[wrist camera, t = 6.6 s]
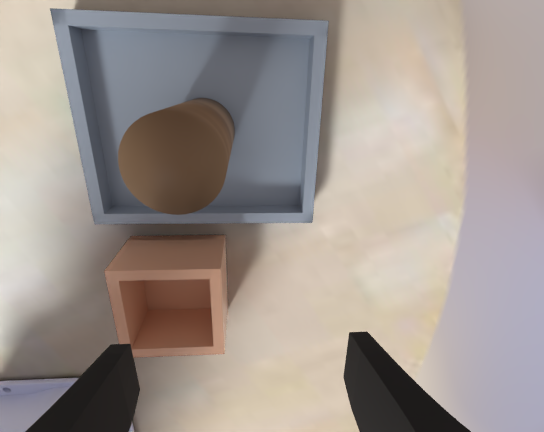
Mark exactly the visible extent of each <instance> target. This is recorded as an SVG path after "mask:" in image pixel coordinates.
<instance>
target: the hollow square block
mask: <svg viewBox="0 0 544 432" xmlns="http://www.w3.org/2000/svg"><path fill="white" fill-rule="evenodd" d="M104 273H105V278H106V282H107V287H108V292H109V297H110V302H111V307H112V311H113V316H114V321H115V326H116V331H117V336H118V341H119V344H131V349H132V354H133V358H135V357H160V356H185V355H210V354H224V352H225V340H226V327H227V315H228V297H227V268H226V238H225V235H171V236H130V238H129V239H128V240H127V242H126V243H125V244H124V245H123V247H122V248H121V249H120V251H119V252H118V253H117V255H116V256H115V257H114V259H113V260H112V261H111V263H110V264H109V265H108V267H107V268H106V269H105V271H104Z"/></svg>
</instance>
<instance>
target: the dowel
mask: <svg viewBox="0 0 544 432" xmlns="http://www.w3.org/2000/svg"><path fill="white" fill-rule="evenodd" d="M234 135H235V126H234V122H233V119H232V117H231V115H230V113H229V112H228V110H227V109H226V108H225V107H224V106H223V105H222V104H220V103H219V102H217V101H215V100H212V99H208V98H196V99H193V100H190V101H186V102H183V103H180V104H177V105H174V106H171V107H168V108H165V109H162V110H159V111H156V112H153V113H149V114H147V115H145V116H143V117H141V118H139V119H138V120H136V121H135V122H134V123H133V124H132V125H131V126H130V127H129V128H128V129H127V131H126V132H125V134H124V135H123V137H122V140H121V142H120V145H119V150H118V165H119V170H120V173H121V176H122V179H123V181H124V183H125V185H126V186H127V188H128V189H129V191H130V192H131V193H132V194H133V195H134V196H135V197H136V198H137V199H138V200H139V201H140V202H142V203H143V204H144V205H146V206H148V207H149V208H151V209H154V210H156V211H158V212H162V213H166V214H172V215H183V214H189V213H193V212H196V211H199V210H201V209H203V208H204V207H206V206H208V205H209V204H210V203H211V202H212V201H213V200H214V199H215V198H216V197H217V196H218V194H219V193H220V191H221V189H222V187H223V185H224V182H225V178H226V173H227V169H228V164H229V159H230V154H231V150H232V145H233V140H234Z"/></svg>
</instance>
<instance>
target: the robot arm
mask: <svg viewBox="0 0 544 432" xmlns="http://www.w3.org/2000/svg"><path fill="white" fill-rule="evenodd" d="M344 381H345V385H346V389H347V393H348V397H349V401H350V405H351V408H352V411H353V414H354V417H355V420H356V423H357V425H358V428H359V431H360V432H471V431H470V430H468V429H467V428H466V427H465V426H463V425H462V424H461V423H460V422H458V421H457V420H456V419H455V418H454V417H453V416H451V415H450V414H449V413H448V412H447V411H446V410H444V408H442V407H441V406H440V405H439V404H438V403H437V402H436V401H435V400H434V399H433V398H432V397H431V396H429V395H428V394H427V393H426V392H425V391H424V390H423V389H422V388H421V387H420V386H419V385H418V384H417V383H416V382H415V381H414V380H413V379H412V378H411V377H410V376H409V375H408V374H407V373H406V372H405V371H404V370H403V369H402V368H401V367H400V366H399V365H398V364H397V363H396V362H395V361H394V360H393V359H392V358H391V357H390V355H389V354H388V353H387V352H386V351H385V350H384V349H383V348H382V347H381V346H380V345H379V344H378V343H377V342H376V341H375V339H374V338H373V337H372V336H371V335H370V334H369V333H368V332H350V333H349V339H348V347H347V355H346V363H345V370H344ZM139 391H140V387H139V383H138V378H137V373H136V368H135V363H134V358H133V354H132V349H131V344H114V345H110V346H109V347H108V348H107V349H106V350H105V351H104V352H103V353H102V354H101V355H100V356H99V357H98V358H97V360H96V361H95V362H94V363H93V364H92V365H91V366H90V367H89V368H88V369H87V370H86V371H85V372H84V373H83V374H82V375H81V376H80V378H60V379H37V380H14V381H0V432H134V427H133V422H132V420H133V416H134V412H135V409H136V404H137V400H138V396H139Z"/></svg>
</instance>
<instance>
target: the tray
mask: <svg viewBox="0 0 544 432" xmlns="http://www.w3.org/2000/svg"><path fill="white" fill-rule="evenodd" d="M50 11H51V15H52V20H53V25H54V30H55V35H56V40H57V45H58V49H59V54H60V59H61V64H62V69H63V74H64V79H65V83H66V88H67V93H68V98H69V103H70V108H71V112H72V117H73V122H74V127H75V132H76V137H77V142H78V146H79V151H80V156H81V161H82V166H83V171H84V176H85V180H86V185H87V190H88V195H89V200H90V205H91V210H92V214H93V219H94V224H199V223H312V220H313V208H314V195H315V183H316V171H317V158H318V146H319V133H320V121H321V109H322V96H323V84H324V71H325V59H326V47H327V34H328V22H329V21H323V20H300V19H277V18H255V17H232V16H209V15H187V14H164V13H141V12H118V11H96V10H73V9H50ZM196 98H208V99H212V100H215V101H217V102H219V103H220V104H222V105H223V106H224V107H225V108H226V109H227V110H228V112H229V113H230V115H231V117H232V119H233V122H234V126H235V135H234V140H233V145H232V150H231V154H230V159H229V164H228V169H227V173H226V178H225V182H224V185H223V187H222V189H221V191H220V193H219V194H218V196H217V197H216V198H215V199H214V200H213V201H212V202H211V203H210V204H209V205H208V206H206V207H204V208H203V209H201V210H199V211H196V212H193V213H189V214H183V215H172V214H166V213H162V212H158V211H156V210H154V209H151V208H149V207H148V206H146V205H144V204H143V203H142V202H140V201H139V200H138V199H137V198H136V197H135V196H134V195H133V194H132V193H131V192H130V191H129V189H128V188H127V186H126V185H125V183H124V181H123V179H122V176H121V173H120V170H119V165H118V150H119V145H120V142H121V140H122V137H123V135H124V134H125V132H126V131H127V129H128V128H129V127H130V126H131V125H132V124H133V123H134V122H135V121H136V120H138V119H139V118H141V117H143V116H145V115H147V114H149V113H153V112H156V111H159V110H162V109H165V108H168V107H171V106H174V105H177V104H180V103H183V102H186V101H190V100H193V99H196Z"/></svg>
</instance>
